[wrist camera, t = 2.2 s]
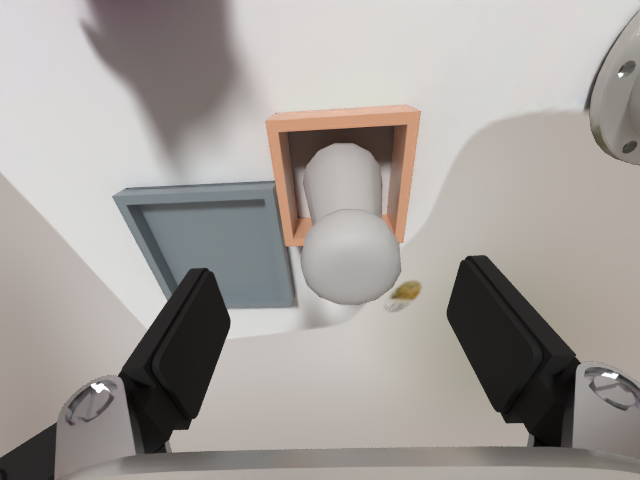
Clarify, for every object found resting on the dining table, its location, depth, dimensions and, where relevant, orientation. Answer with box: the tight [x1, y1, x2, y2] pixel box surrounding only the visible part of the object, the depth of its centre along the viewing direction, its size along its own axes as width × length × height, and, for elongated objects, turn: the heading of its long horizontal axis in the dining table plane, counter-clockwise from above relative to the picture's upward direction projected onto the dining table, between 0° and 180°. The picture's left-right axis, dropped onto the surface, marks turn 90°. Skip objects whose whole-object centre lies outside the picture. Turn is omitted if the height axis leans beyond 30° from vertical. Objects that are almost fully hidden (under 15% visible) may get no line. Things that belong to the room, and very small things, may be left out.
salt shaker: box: [301, 143, 401, 305], centre depth 16 cm, size 6×6×13 cm
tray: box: [112, 181, 295, 308], centre depth 25 cm, size 13×13×2 cm
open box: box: [265, 105, 421, 246], centre depth 20 cm, size 9×9×4 cm
